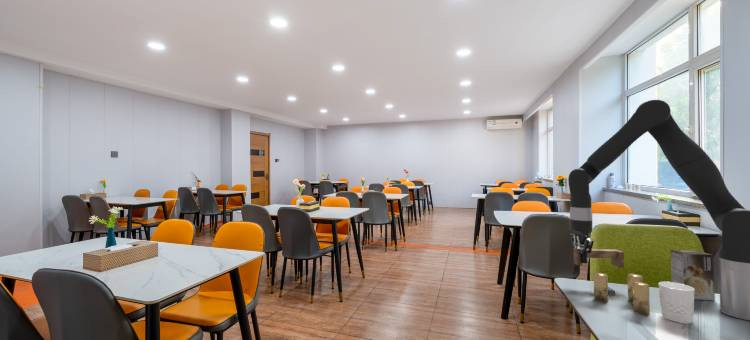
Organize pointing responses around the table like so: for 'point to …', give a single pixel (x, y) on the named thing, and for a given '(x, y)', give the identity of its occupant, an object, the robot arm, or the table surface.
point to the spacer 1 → (600, 287)
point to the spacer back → (641, 298)
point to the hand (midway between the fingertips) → (581, 261)
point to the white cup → (677, 302)
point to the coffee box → (694, 272)
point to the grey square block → (611, 291)
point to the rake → (602, 256)
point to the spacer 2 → (632, 279)
